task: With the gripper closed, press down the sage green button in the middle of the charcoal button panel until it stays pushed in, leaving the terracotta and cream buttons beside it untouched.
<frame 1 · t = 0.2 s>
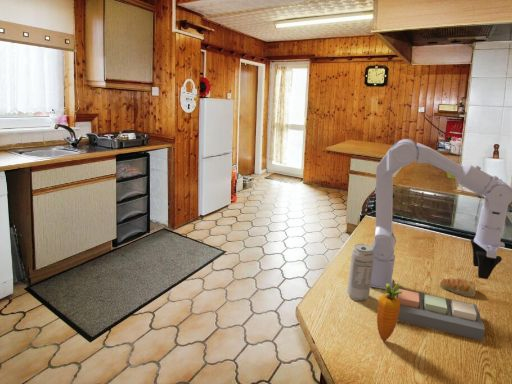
hand: (480, 271, 101), 10 cm above the countertop, tool pointing down, fingers open, 7 cm apart
pastry: (459, 291, 110), on the countertop
panel: (432, 316, 96), on the countertop
sage button: (434, 306, 95), point 3 cm above the countertop, slide at 0.0 cm
terracotta button: (407, 300, 98), point 3 cm above the countertop, slide at 0.0 cm
energy drink can: (357, 296, 105), on the countertop
cream button: (462, 312, 93), point 3 cm above the countertop, slide at 0.0 cm
carrot: (383, 341, 86), on the countertop
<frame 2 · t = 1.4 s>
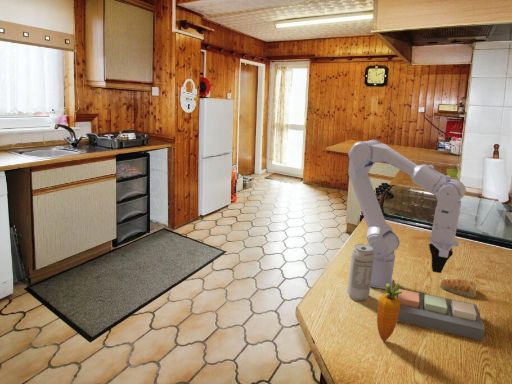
hand: (436, 271, 101), 9 cm above the countertop, tool pointing down, fingers closed
nothing on the countertop moved.
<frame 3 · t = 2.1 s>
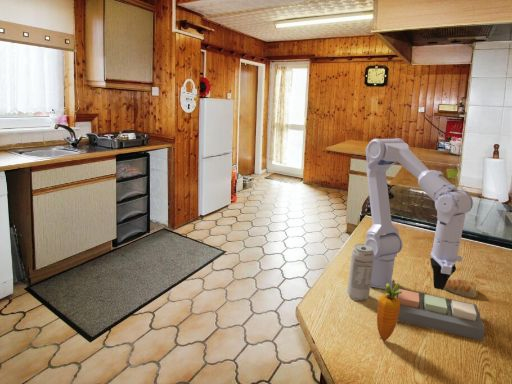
hand: (438, 287, 94), 8 cm above the countertop, tool pointing down, fingers closed
nothing on the countertop moved.
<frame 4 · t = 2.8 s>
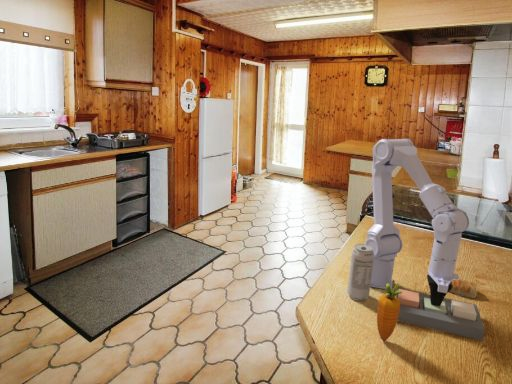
hand: (435, 304, 95), 4 cm above the countertop, tool pointing down, fingers closed, pressing on sage button
sage button: (434, 309, 96), point 2 cm above the countertop, slide at 1.0 cm, touching gripper
everything else where it was.
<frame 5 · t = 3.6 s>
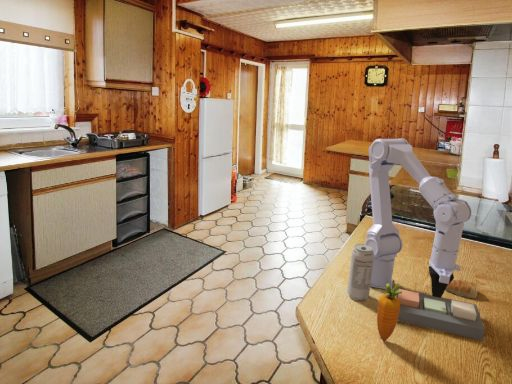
hand: (436, 295, 95), 6 cm above the countertop, tool pointing down, fingers closed
sage button: (434, 309, 96), point 2 cm above the countertop, slide at 1.0 cm
everything else where it was.
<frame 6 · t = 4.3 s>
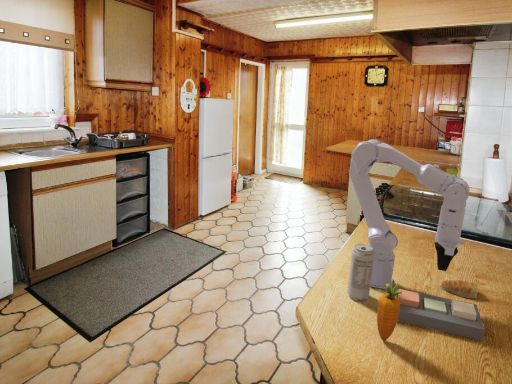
hand: (441, 269, 102), 9 cm above the countertop, tool pointing down, fingers closed
nothing on the countertop moved.
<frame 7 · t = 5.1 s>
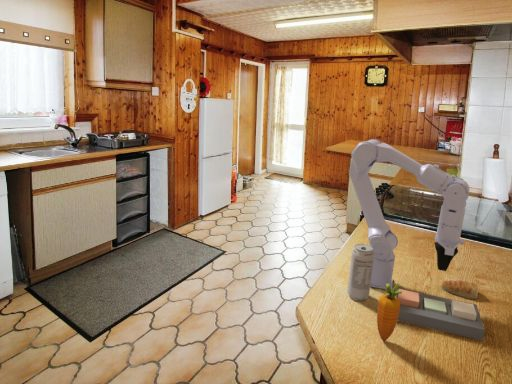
hand: (441, 269, 102), 9 cm above the countertop, tool pointing down, fingers closed
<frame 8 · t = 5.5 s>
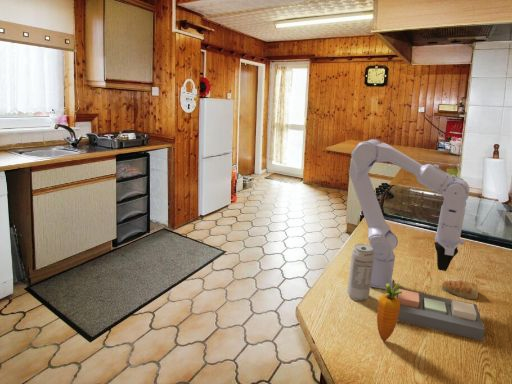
hand: (441, 269, 102), 9 cm above the countertop, tool pointing down, fingers closed
at the end: sage button slide at 1.0 cm; terracotta button slide at 0.0 cm; cream button slide at 0.0 cm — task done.
